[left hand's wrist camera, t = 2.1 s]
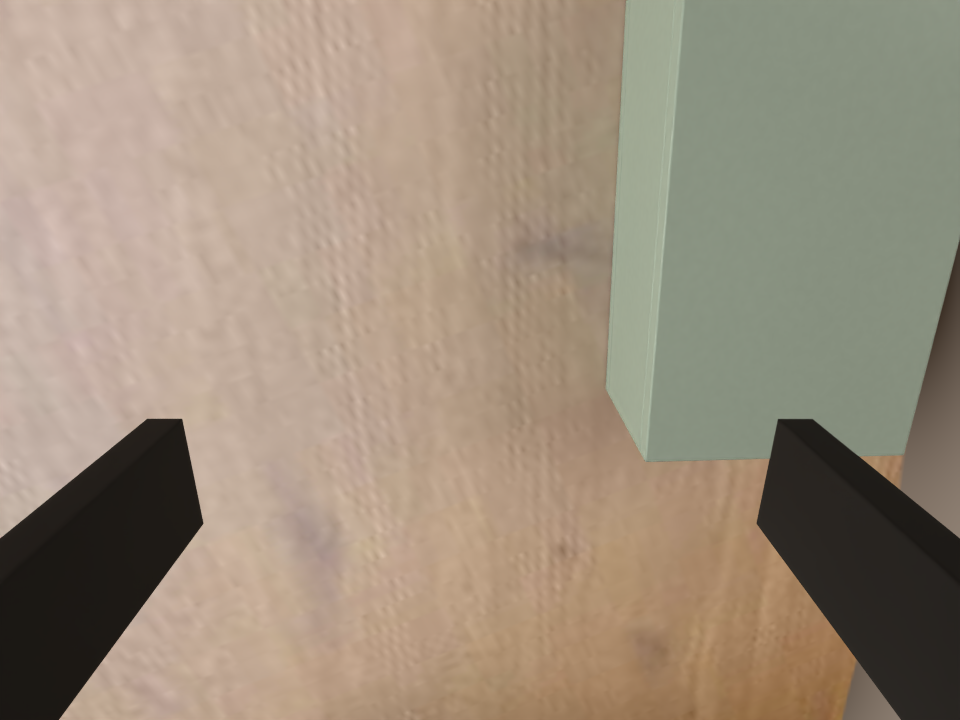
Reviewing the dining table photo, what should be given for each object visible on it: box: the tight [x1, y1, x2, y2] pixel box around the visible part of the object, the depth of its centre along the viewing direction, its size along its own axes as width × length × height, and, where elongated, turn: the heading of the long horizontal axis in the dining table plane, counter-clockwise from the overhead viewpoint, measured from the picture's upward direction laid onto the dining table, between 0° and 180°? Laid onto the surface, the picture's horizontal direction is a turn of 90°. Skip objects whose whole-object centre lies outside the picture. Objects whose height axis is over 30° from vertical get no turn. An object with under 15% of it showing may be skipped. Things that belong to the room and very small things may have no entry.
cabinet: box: [606, 0, 960, 462], centre depth 25 cm, size 19×11×8 cm, turn 2°
